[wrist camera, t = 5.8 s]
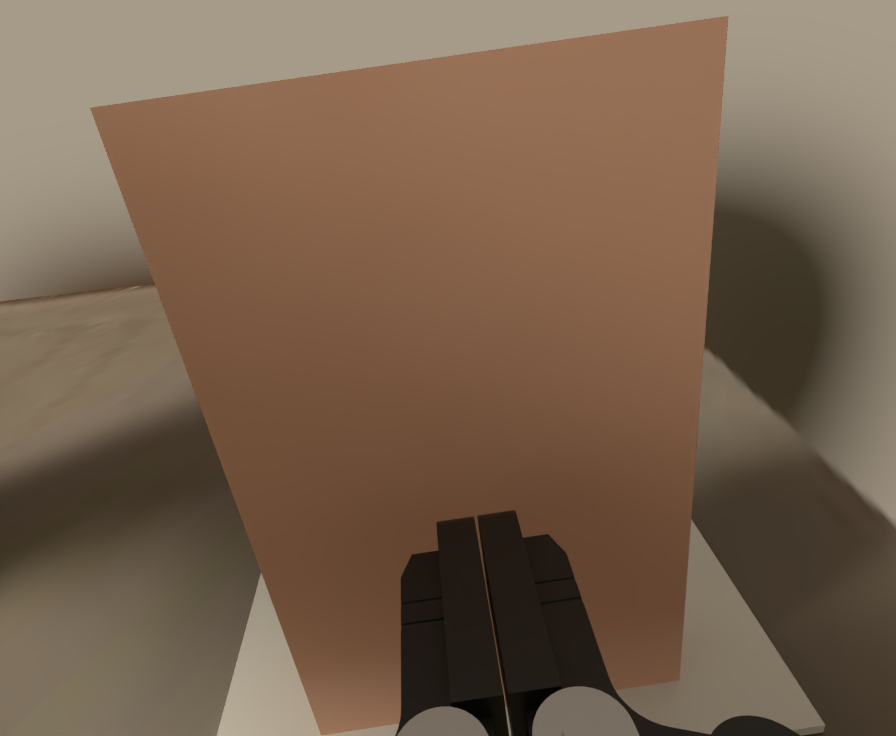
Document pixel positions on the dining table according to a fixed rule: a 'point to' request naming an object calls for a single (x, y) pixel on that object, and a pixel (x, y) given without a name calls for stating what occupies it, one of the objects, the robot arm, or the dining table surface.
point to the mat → (670, 704)
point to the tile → (445, 325)
